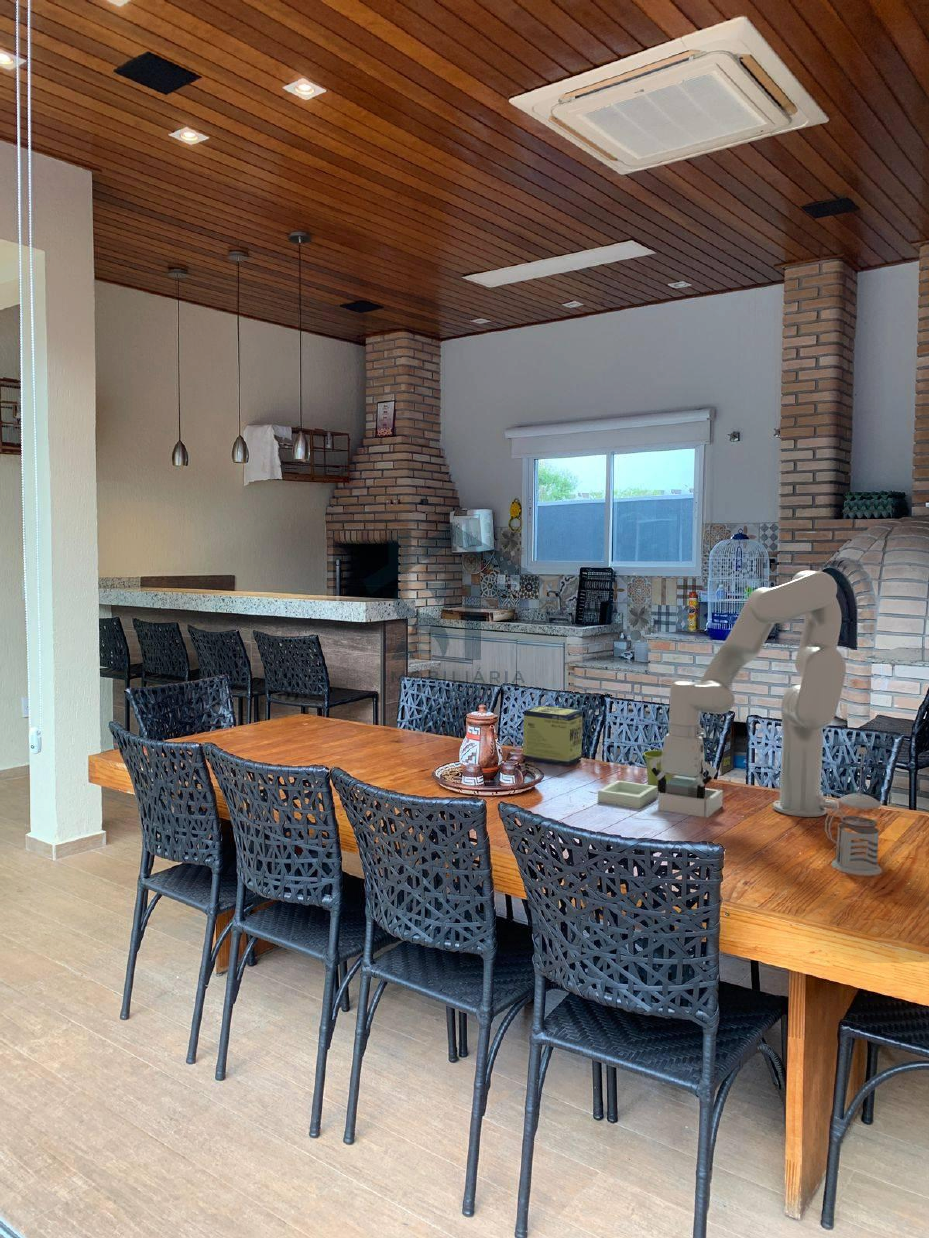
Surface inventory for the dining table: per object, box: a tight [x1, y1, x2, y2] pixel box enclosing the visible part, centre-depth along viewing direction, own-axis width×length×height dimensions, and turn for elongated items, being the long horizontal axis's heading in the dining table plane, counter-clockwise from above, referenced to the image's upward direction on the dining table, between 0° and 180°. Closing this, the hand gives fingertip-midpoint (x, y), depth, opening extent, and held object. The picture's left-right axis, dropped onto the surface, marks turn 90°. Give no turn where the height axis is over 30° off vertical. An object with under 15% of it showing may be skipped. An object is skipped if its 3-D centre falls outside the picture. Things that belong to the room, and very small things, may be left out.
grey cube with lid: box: [666, 775, 699, 798], centre depth 236 cm, size 6×8×7 cm
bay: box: [657, 787, 724, 818], centre depth 235 cm, size 12×12×4 cm
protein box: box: [522, 705, 583, 767], centre depth 286 cm, size 10×16×16 cm
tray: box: [597, 779, 658, 809], centre depth 242 cm, size 11×13×3 cm
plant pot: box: [642, 749, 674, 788], centre depth 257 cm, size 9×9×9 cm
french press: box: [824, 747, 883, 877], centre depth 191 cm, size 10×12×25 cm
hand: (680, 797), depth 236 cm, fingers open, 9 cm apart
